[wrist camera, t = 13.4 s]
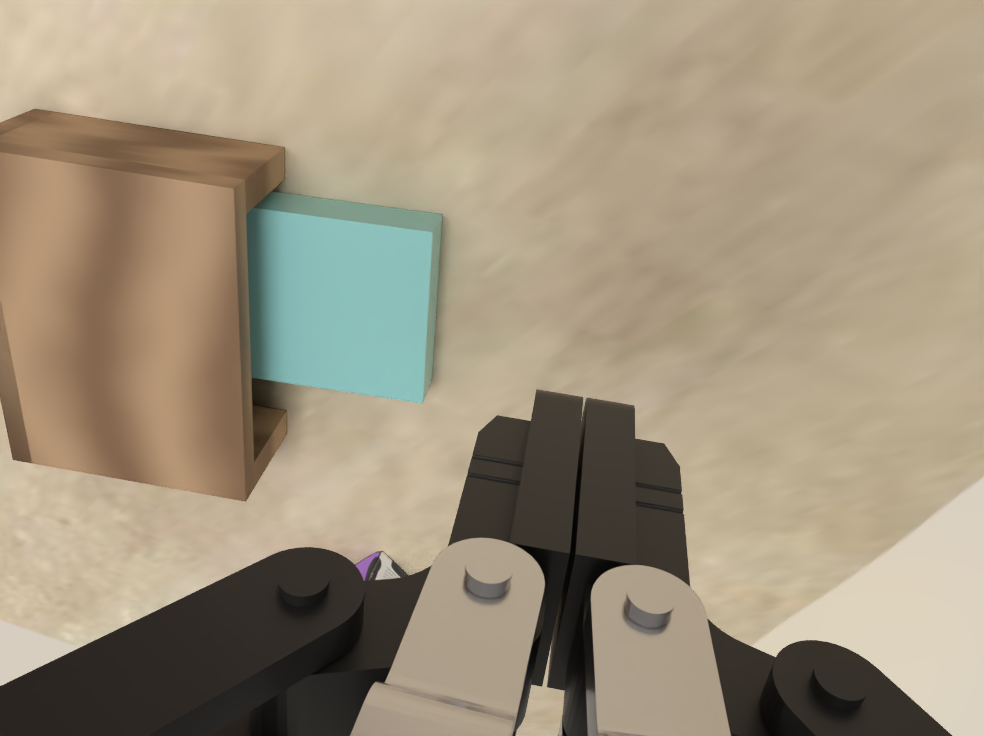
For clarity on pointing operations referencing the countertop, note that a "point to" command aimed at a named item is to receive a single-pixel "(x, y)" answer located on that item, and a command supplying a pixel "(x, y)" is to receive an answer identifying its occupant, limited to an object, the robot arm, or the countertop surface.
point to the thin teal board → (343, 295)
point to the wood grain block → (131, 302)
